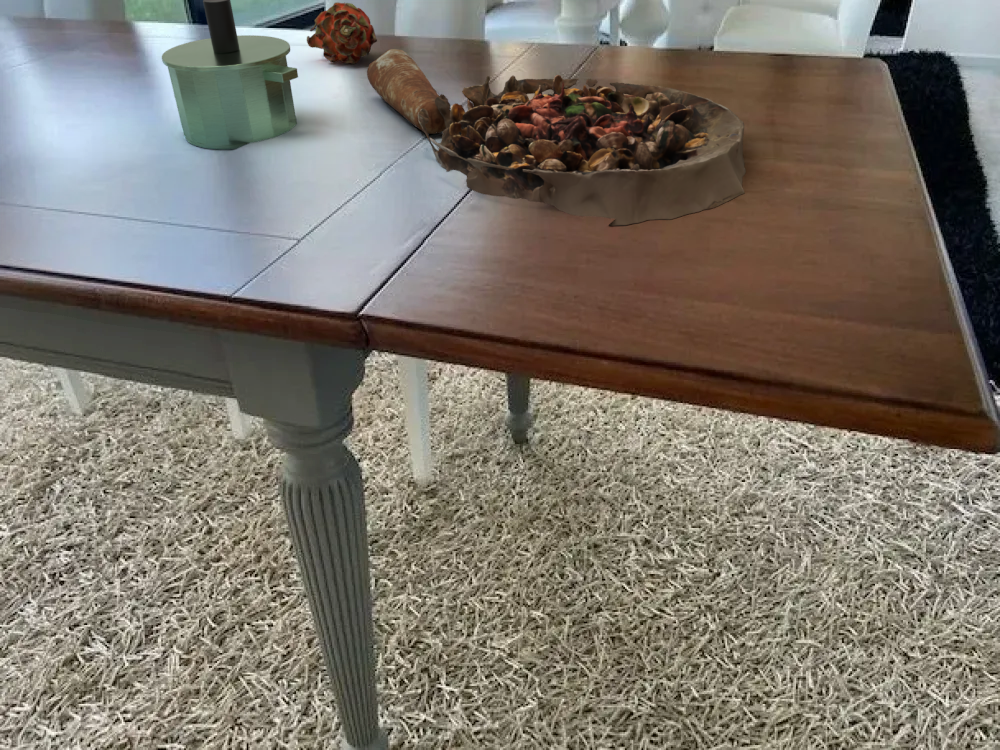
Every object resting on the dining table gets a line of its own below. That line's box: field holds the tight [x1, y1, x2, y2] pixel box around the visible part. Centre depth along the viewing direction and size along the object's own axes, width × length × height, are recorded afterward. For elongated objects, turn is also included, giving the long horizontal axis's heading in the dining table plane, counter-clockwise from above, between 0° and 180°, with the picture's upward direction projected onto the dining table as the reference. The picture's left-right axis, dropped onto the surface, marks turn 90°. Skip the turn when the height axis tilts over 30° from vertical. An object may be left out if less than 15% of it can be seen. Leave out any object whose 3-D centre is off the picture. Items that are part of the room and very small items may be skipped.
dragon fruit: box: [306, 1, 378, 65], centre depth 122 cm, size 8×8×12 cm
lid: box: [161, 0, 291, 72], centre depth 93 cm, size 14×14×6 cm
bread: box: [366, 48, 446, 135], centre depth 101 cm, size 6×19×6 cm, turn 19°
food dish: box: [418, 74, 746, 227], centre depth 87 cm, size 35×33×8 cm
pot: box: [167, 55, 299, 150], centre depth 96 cm, size 13×18×8 cm
